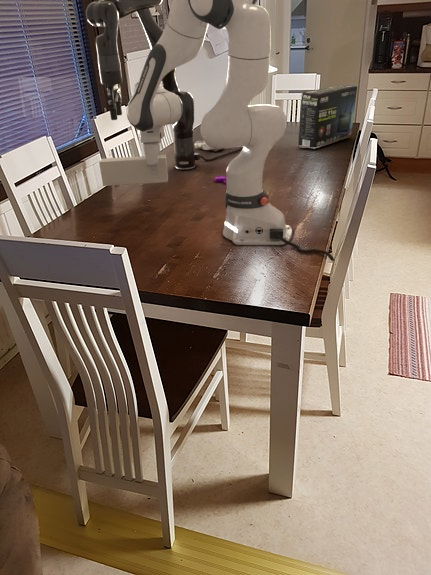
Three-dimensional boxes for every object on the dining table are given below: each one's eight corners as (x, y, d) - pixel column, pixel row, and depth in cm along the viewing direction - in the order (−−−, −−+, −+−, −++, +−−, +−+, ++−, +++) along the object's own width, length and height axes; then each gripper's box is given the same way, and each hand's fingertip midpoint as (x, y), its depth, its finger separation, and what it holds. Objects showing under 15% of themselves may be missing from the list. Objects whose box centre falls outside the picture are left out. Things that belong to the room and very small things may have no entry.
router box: (314, 151, 231) (318, 94, 217) (296, 148, 237) (299, 92, 224) (352, 138, 251) (358, 85, 238) (335, 135, 258) (340, 83, 245)
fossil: (218, 146, 231) (198, 127, 234) (207, 163, 238) (188, 145, 241) (236, 144, 245) (217, 126, 248) (226, 160, 252) (207, 143, 255)
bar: (168, 178, 166) (165, 154, 162) (167, 182, 162) (165, 158, 158) (104, 182, 165) (100, 158, 161) (103, 186, 161) (98, 162, 157)
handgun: (214, 180, 197) (213, 176, 196) (231, 178, 198) (231, 174, 197) (224, 196, 180) (223, 191, 179) (243, 193, 181) (242, 189, 180)
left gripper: (104, 67, 167) (110, 114, 175) (94, 71, 154) (102, 121, 163) (124, 66, 166) (130, 113, 175) (116, 70, 154) (123, 121, 162)
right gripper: (143, 126, 164) (148, 164, 171) (139, 138, 147) (144, 181, 154) (161, 125, 164) (165, 163, 171) (159, 137, 147) (163, 180, 154)
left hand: (116, 117), depth 169 cm, fingers open, 8 cm apart
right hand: (155, 172), depth 162 cm, fingers closed on bar, 4 cm apart
